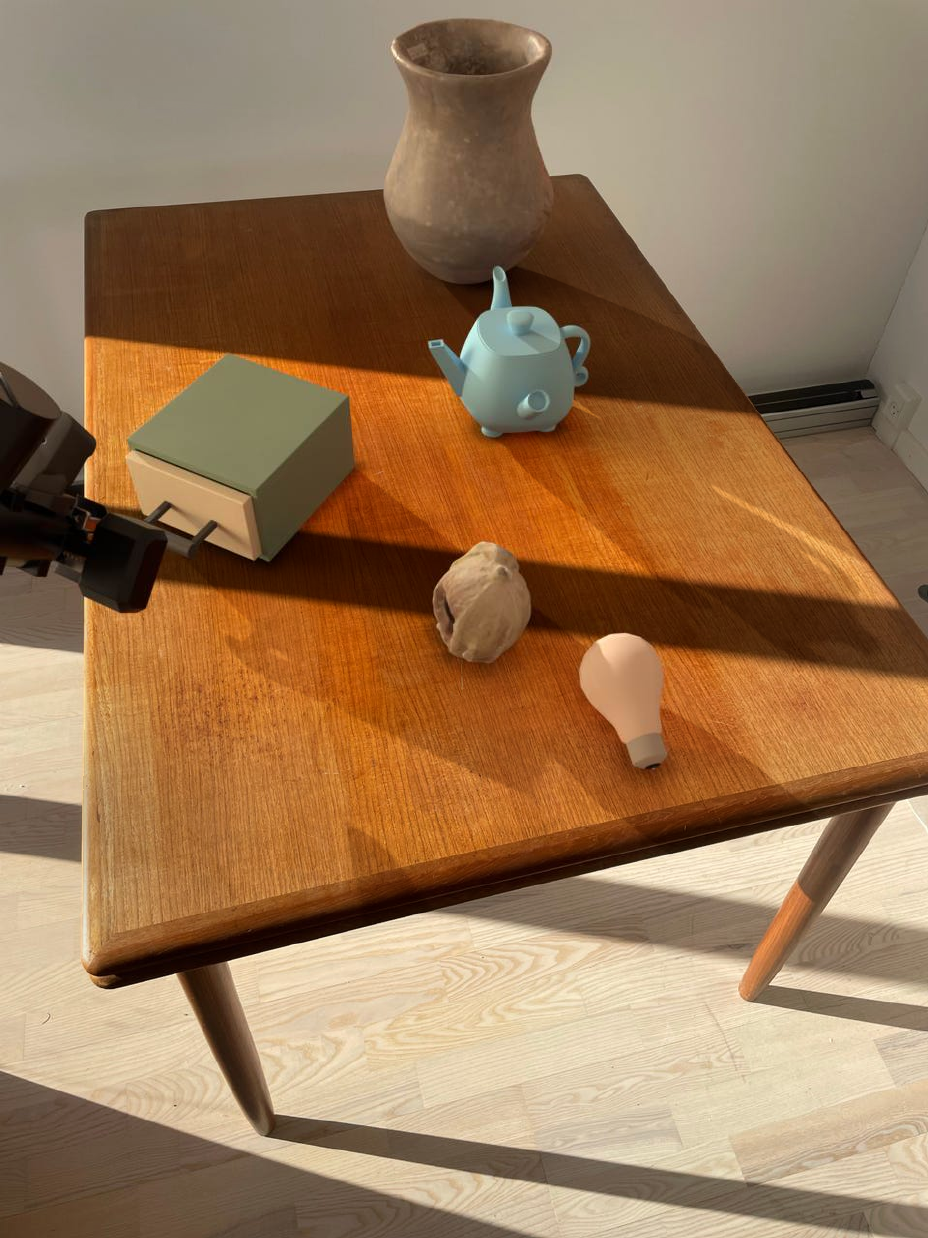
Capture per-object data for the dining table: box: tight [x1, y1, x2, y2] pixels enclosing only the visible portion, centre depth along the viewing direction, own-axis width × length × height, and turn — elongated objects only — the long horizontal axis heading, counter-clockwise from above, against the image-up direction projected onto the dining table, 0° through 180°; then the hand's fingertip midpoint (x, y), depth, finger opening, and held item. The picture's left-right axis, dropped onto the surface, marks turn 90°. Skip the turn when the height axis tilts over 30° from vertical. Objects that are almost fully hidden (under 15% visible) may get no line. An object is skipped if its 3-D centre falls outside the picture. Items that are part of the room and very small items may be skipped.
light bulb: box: [578, 632, 669, 771], centre depth 74 cm, size 7×7×11 cm
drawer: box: [125, 450, 262, 562], centre depth 87 cm, size 18×12×7 cm
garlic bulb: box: [432, 541, 532, 664], centre depth 78 cm, size 9×8×10 cm
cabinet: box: [126, 352, 356, 563], centre depth 89 cm, size 15×14×9 cm
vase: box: [383, 17, 555, 285], centre depth 109 cm, size 20×19×25 cm
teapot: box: [427, 266, 591, 438], centre depth 97 cm, size 15×14×11 cm
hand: (118, 536), depth 77 cm, fingers closed
